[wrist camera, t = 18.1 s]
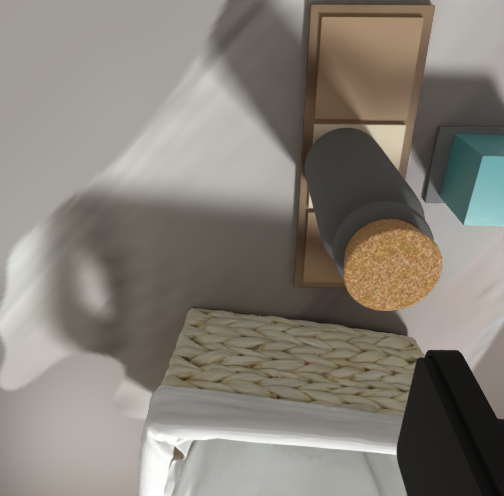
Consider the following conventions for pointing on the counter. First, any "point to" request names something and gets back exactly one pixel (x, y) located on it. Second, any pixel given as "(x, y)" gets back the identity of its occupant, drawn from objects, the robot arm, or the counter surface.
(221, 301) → the counter surface
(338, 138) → the bottle
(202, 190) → the counter surface
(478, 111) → the counter surface
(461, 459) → the robot arm
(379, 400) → the storage basket
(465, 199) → the cube
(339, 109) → the board
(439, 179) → the mat
